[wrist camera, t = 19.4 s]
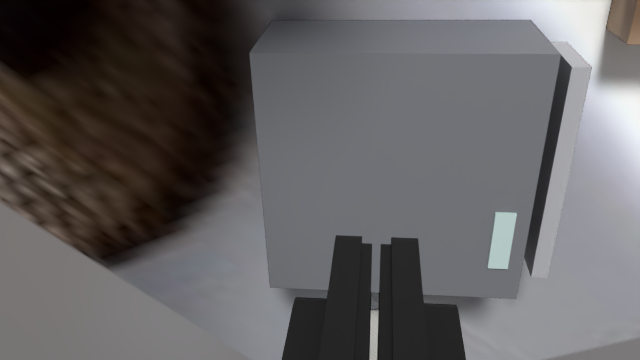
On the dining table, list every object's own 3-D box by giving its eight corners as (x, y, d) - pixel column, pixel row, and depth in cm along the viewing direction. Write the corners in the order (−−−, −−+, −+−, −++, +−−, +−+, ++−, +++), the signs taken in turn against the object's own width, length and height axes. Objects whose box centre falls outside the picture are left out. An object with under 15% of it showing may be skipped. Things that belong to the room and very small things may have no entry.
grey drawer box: (272, 20, 37) (248, 53, 30) (530, 19, 35) (562, 55, 29) (285, 228, 44) (269, 289, 38) (497, 236, 43) (516, 300, 37)
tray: (288, 41, 36) (275, 65, 32) (566, 41, 34) (591, 67, 30) (298, 227, 43) (288, 267, 39) (530, 235, 41) (547, 277, 37)
